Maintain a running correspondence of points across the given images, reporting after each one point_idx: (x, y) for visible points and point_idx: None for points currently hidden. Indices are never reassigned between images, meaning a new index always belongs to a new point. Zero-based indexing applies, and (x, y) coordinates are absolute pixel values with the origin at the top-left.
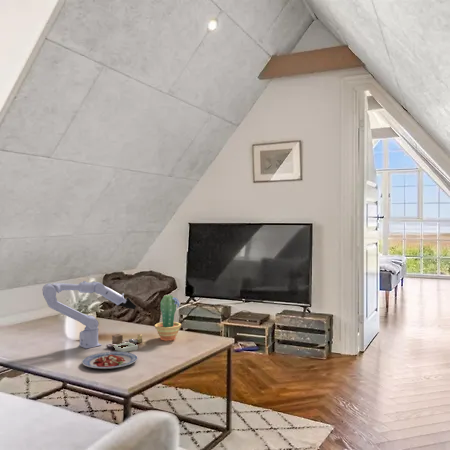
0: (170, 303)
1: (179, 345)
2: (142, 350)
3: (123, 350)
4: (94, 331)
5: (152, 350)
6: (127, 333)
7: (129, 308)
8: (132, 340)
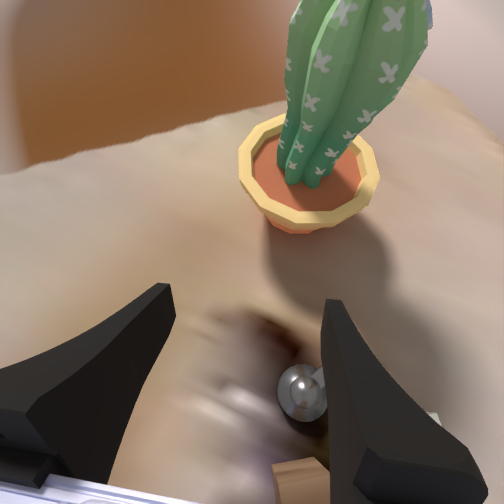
0: (426, 38)
1: (424, 220)
2: (444, 396)
3: None
4: None
5: (461, 352)
6: (77, 306)
7: (171, 324)
8: (321, 392)
